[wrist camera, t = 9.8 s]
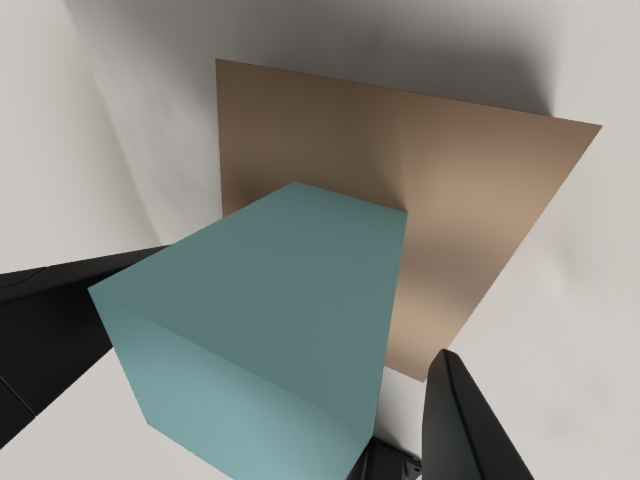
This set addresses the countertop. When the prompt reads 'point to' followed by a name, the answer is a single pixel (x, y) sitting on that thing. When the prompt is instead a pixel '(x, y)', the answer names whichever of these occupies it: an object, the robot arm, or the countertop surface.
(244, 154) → the wooden board
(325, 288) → the teal block
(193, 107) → the countertop surface
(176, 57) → the countertop surface
